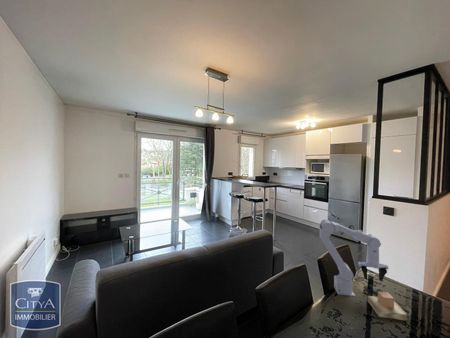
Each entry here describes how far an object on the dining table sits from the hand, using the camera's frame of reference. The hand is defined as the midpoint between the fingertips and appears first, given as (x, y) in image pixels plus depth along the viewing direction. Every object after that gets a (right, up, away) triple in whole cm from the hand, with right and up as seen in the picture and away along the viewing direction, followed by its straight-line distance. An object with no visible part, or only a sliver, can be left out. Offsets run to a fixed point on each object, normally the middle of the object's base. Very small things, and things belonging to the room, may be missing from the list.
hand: (373, 279), depth 115 cm
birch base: (-2, -9, -12) cm, 15 cm away
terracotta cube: (-2, -6, -12) cm, 14 cm away
